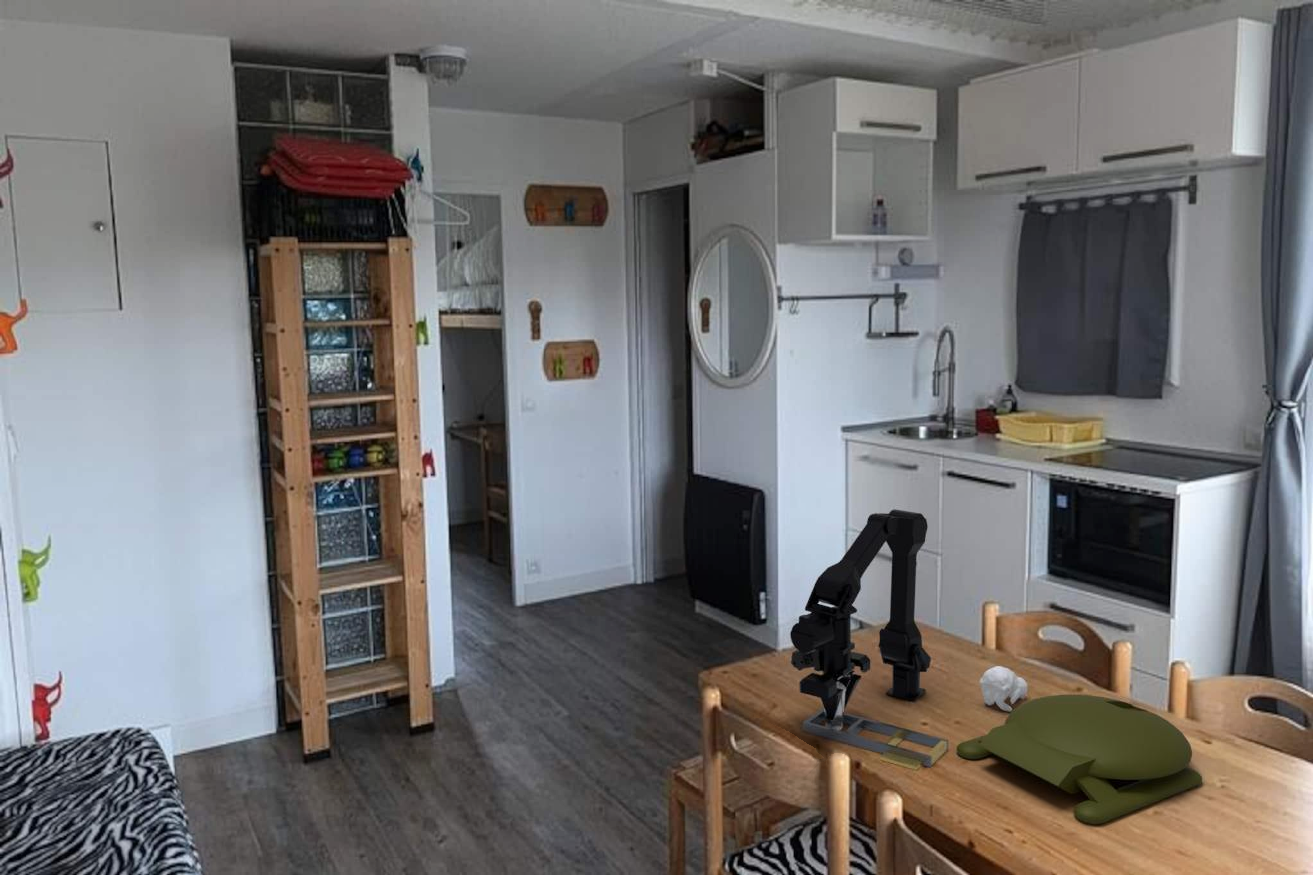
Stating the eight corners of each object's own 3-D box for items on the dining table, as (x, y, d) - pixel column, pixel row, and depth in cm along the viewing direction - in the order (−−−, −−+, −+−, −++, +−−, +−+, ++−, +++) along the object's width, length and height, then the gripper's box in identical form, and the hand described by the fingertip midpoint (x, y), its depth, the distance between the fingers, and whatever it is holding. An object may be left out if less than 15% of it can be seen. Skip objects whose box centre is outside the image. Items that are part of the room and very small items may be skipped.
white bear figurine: (978, 665, 197) (1011, 656, 205) (975, 705, 198) (1008, 695, 205) (1006, 674, 192) (1038, 664, 200) (1002, 715, 193) (1035, 704, 200)
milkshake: (850, 733, 187) (850, 683, 186) (822, 731, 188) (822, 682, 187) (850, 723, 191) (850, 675, 190) (822, 721, 192) (822, 673, 191)
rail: (829, 711, 198) (829, 703, 198) (953, 744, 182) (953, 735, 182) (796, 735, 187) (796, 726, 187) (924, 772, 171) (924, 762, 171)
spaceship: (1093, 832, 152) (1095, 773, 150) (950, 754, 179) (950, 704, 178) (1230, 777, 168) (1233, 723, 166) (1079, 713, 195) (1081, 667, 193)
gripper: (821, 618, 199) (822, 690, 201) (774, 644, 185) (775, 722, 187) (871, 628, 192) (871, 702, 194) (826, 656, 178) (827, 736, 180)
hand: (835, 715), depth 189 cm, fingers closed on milkshake, 4 cm apart
